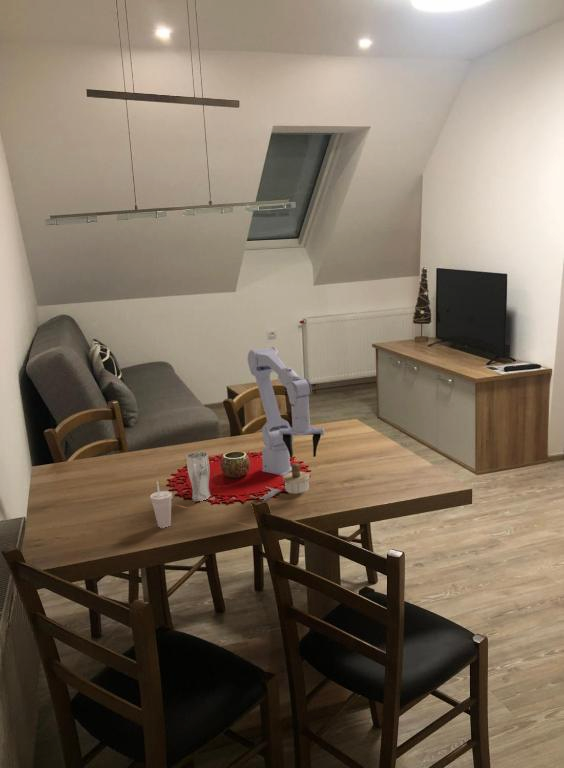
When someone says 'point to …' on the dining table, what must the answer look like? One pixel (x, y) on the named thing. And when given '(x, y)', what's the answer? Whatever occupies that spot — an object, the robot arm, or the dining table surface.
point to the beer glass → (199, 475)
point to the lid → (296, 475)
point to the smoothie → (162, 507)
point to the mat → (270, 493)
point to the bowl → (296, 487)
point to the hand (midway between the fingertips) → (303, 455)
